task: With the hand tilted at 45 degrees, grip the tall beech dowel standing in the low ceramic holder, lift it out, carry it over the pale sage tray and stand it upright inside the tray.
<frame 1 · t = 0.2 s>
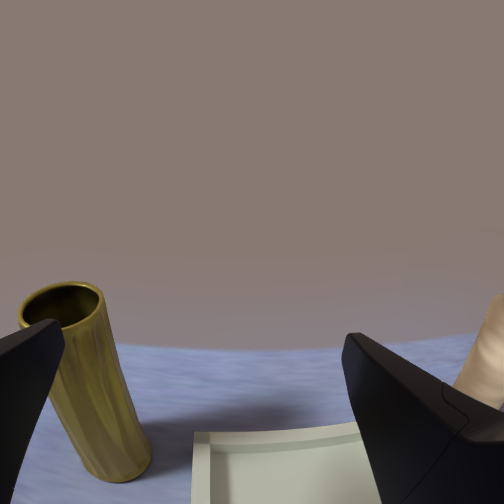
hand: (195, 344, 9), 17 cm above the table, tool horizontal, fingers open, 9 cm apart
dowel: (474, 400, 16), in the holder
vase: (116, 454, 20), on the table
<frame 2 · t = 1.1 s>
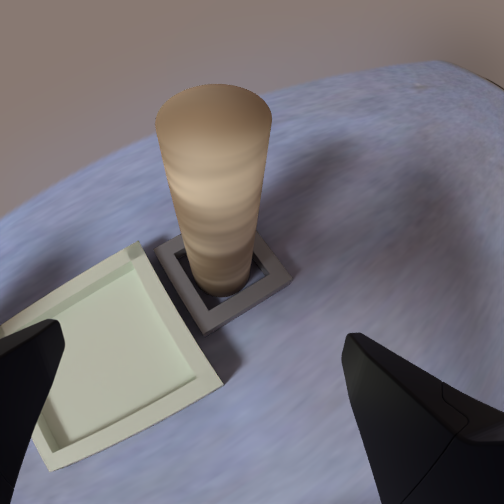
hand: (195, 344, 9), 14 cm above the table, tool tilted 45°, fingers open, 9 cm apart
dowel: (217, 218, 18), in the holder
tray: (97, 363, 21), on the table
holder: (221, 270, 25), on the table
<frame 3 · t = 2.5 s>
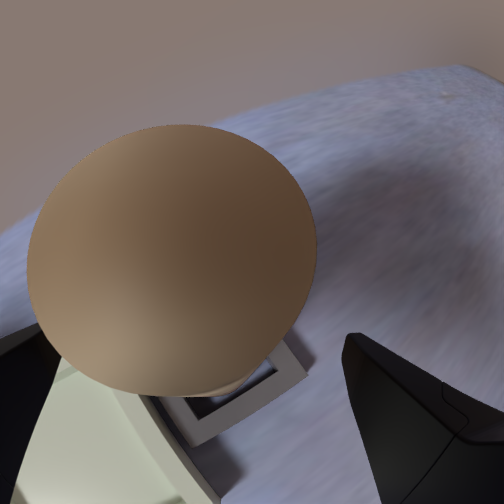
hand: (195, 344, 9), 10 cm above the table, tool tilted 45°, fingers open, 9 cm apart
dowel: (202, 336, 11), in the holder
tray: (69, 464, 14), on the table
holder: (213, 359, 18), on the table
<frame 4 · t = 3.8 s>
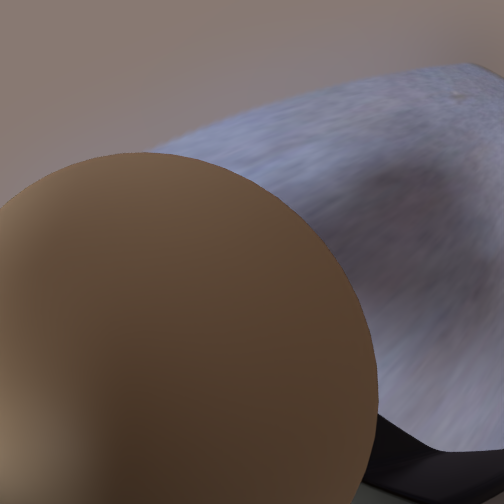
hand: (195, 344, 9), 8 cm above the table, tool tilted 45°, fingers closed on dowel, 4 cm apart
dowel: (195, 391, 9), in the holder, touching gripper
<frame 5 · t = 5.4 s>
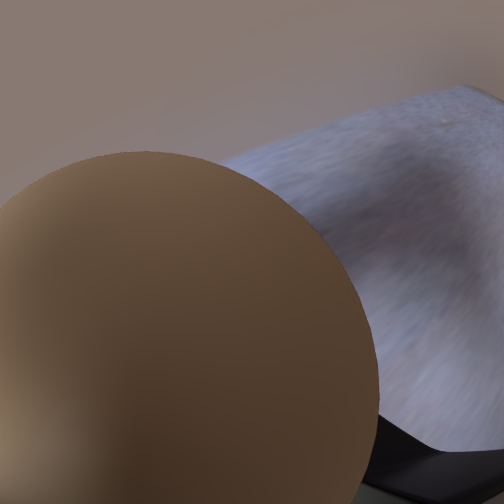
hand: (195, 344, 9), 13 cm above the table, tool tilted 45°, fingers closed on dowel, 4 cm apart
dowel: (196, 391, 9), point 13 cm above the table, touching gripper
when the fingers open (10 cm above the table, at t = 7.4 s): dowel drops 1 cm, resting on tray.
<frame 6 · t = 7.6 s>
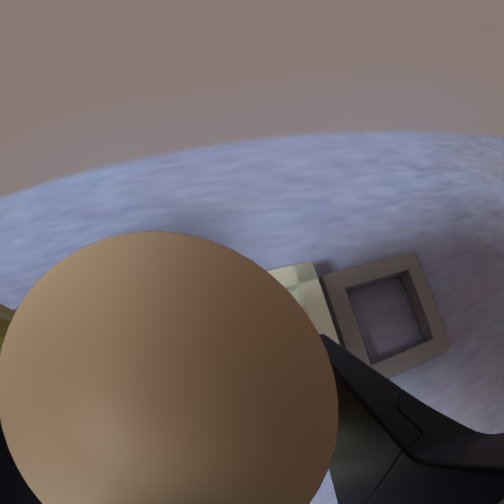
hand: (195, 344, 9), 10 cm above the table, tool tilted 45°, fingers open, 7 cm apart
dowel: (201, 396, 10), in the tray, point 8 cm above the table
vase: (15, 352, 17), on the table
tray: (213, 392, 17), on the table
holder: (384, 319, 20), on the table
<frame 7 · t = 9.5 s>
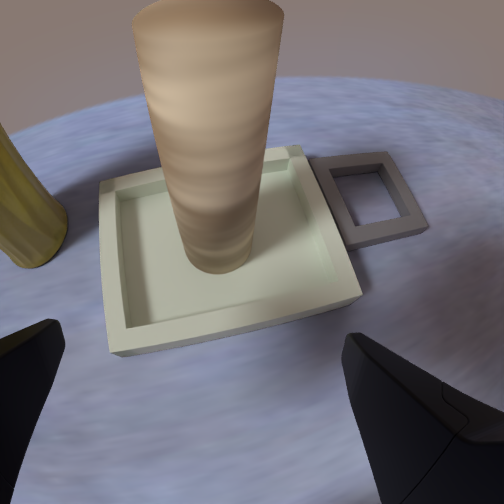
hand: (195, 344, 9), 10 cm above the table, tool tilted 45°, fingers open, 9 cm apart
dowel: (212, 167, 14), in the tray, point 8 cm above the table
vase: (38, 235, 21), on the table
tray: (217, 247, 21), on the table
holder: (365, 200, 24), on the table
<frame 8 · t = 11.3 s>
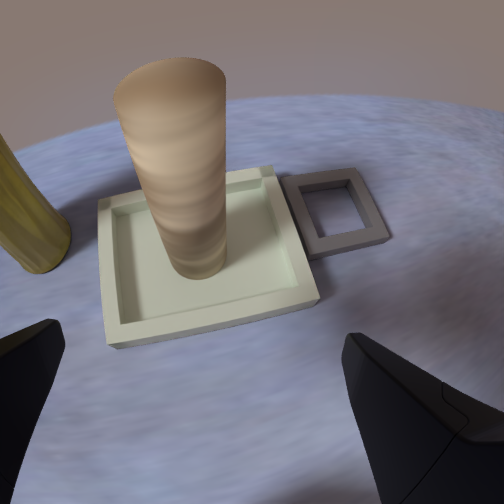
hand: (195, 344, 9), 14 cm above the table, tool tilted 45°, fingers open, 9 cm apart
dowel: (186, 195, 17), in the tray, point 8 cm above the table
vase: (45, 244, 25), on the table
tray: (198, 256, 25), on the table
holder: (332, 213, 27), on the table
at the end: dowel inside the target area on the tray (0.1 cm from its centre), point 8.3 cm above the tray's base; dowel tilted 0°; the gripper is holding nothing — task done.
